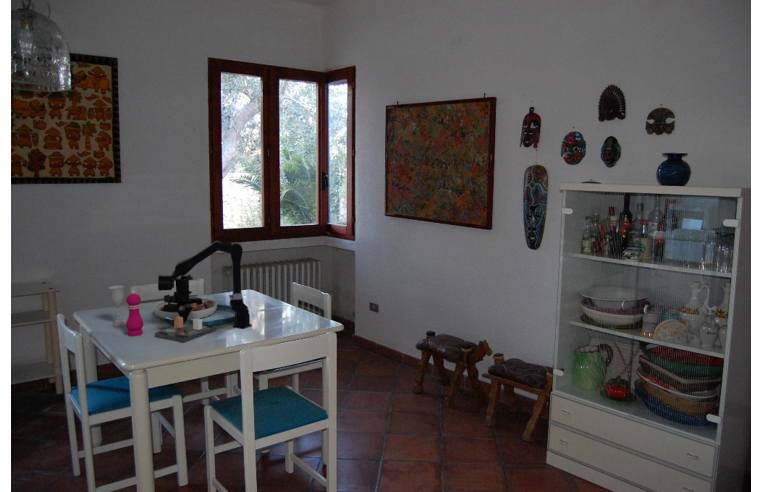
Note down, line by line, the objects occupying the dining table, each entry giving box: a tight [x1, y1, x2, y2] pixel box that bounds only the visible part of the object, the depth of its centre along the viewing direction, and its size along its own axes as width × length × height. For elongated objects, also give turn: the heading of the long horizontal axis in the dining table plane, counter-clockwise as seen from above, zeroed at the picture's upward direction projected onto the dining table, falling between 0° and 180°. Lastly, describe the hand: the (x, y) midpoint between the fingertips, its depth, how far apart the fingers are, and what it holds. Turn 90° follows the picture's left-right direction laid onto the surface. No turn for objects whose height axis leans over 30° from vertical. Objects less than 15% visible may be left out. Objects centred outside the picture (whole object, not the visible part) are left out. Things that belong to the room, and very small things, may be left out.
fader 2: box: [192, 318, 203, 330], centre depth 261 cm, size 3×2×4 cm
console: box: [154, 320, 217, 344], centre depth 262 cm, size 17×20×3 cm
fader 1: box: [173, 316, 183, 328], centre depth 264 cm, size 3×2×4 cm
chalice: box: [108, 285, 125, 327], centre depth 274 cm, size 7×7×18 cm
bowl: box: [153, 297, 218, 321], centre depth 295 cm, size 30×30×8 cm
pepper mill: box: [125, 290, 145, 337], centre depth 260 cm, size 7×7×20 cm
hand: (183, 322), depth 267 cm, fingers closed
